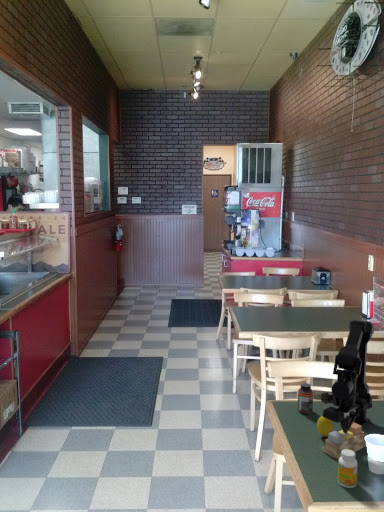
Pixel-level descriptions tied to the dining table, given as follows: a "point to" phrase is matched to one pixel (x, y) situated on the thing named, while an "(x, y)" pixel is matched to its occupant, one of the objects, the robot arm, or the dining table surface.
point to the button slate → (336, 437)
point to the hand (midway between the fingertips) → (345, 432)
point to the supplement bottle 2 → (347, 469)
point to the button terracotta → (355, 429)
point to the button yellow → (346, 434)
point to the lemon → (324, 426)
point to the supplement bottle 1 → (305, 399)
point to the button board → (344, 445)
